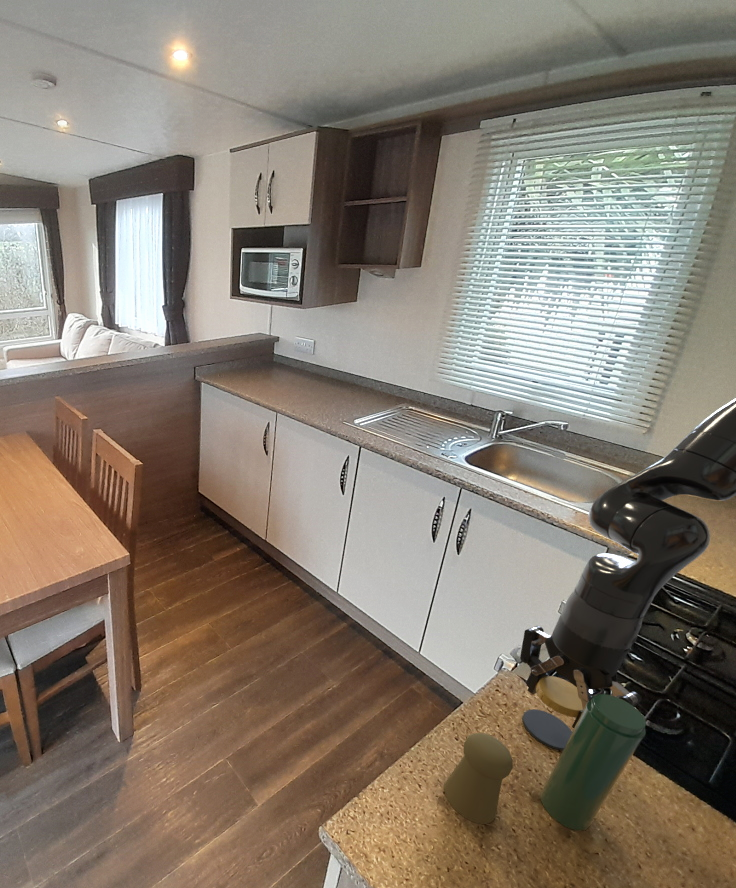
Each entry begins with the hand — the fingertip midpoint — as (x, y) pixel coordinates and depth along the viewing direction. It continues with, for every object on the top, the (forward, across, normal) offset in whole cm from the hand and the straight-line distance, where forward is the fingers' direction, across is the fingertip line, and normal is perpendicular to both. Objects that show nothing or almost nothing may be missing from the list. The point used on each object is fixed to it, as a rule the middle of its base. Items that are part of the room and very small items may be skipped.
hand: (555, 708), depth 73 cm
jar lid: (-3, 0, 0) cm, 3 cm away
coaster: (+4, 0, 0) cm, 4 cm away
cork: (+5, +4, -20) cm, 21 cm away
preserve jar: (+4, +9, -10) cm, 14 cm away
